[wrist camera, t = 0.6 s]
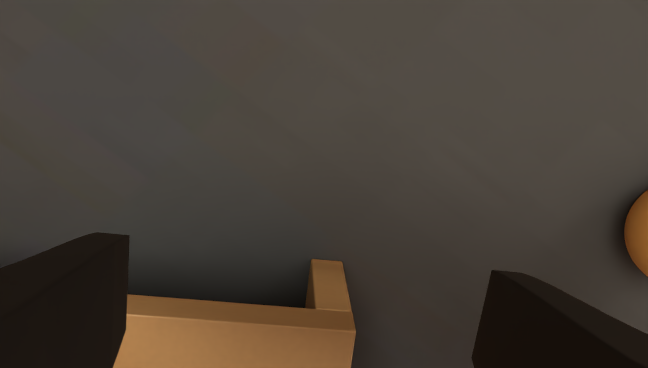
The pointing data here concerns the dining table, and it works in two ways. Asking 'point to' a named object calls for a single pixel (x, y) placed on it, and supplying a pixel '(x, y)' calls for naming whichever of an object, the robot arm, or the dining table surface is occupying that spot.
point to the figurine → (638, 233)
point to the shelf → (243, 330)
